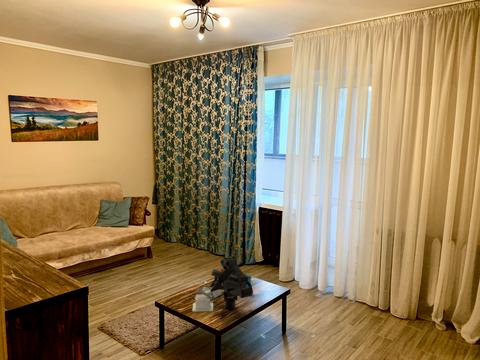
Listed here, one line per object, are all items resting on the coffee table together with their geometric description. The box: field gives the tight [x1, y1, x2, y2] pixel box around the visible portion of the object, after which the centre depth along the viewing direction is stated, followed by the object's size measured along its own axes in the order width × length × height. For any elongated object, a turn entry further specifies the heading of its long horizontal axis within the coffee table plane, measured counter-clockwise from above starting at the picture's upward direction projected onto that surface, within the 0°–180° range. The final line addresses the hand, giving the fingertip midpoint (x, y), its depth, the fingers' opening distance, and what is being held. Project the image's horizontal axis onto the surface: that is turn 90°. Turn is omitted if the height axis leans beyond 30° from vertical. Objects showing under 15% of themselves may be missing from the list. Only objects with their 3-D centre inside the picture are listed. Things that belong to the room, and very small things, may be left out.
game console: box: [220, 267, 252, 290], centre depth 278 cm, size 28×6×15 cm, turn 57°
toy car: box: [197, 280, 224, 301], centre depth 271 cm, size 18×10×12 cm
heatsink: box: [194, 294, 211, 309], centre depth 249 cm, size 11×8×7 cm
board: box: [192, 302, 214, 313], centre depth 250 cm, size 14×11×1 cm
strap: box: [196, 288, 211, 299], centre depth 249 cm, size 10×3×1 cm, turn 95°
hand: (210, 289), depth 249 cm, fingers open, 7 cm apart
